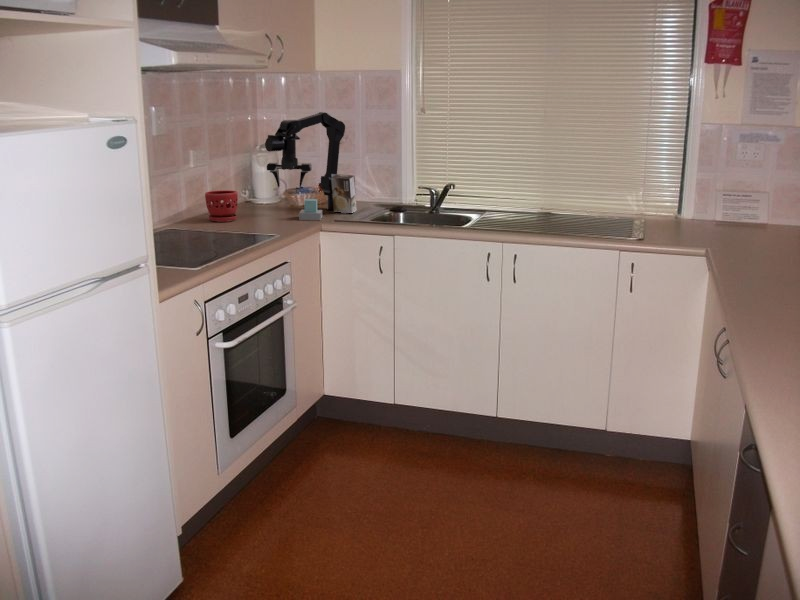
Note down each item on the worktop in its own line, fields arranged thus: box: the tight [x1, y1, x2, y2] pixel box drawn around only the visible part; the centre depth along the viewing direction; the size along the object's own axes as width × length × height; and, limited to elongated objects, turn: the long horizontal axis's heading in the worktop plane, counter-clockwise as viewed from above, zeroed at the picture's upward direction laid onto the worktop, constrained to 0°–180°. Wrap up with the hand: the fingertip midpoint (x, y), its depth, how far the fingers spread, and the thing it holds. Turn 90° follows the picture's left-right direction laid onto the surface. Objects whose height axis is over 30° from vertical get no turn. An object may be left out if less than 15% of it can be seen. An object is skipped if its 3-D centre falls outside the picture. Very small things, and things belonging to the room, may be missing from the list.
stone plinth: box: [298, 209, 323, 221], centre depth 341 cm, size 9×9×3 cm
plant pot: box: [204, 189, 239, 223], centre depth 332 cm, size 13×13×12 cm
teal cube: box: [303, 198, 318, 213], centre depth 340 cm, size 5×5×5 cm
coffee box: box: [331, 173, 358, 214], centre depth 355 cm, size 9×6×16 cm
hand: (289, 187), depth 347 cm, fingers open, 9 cm apart
